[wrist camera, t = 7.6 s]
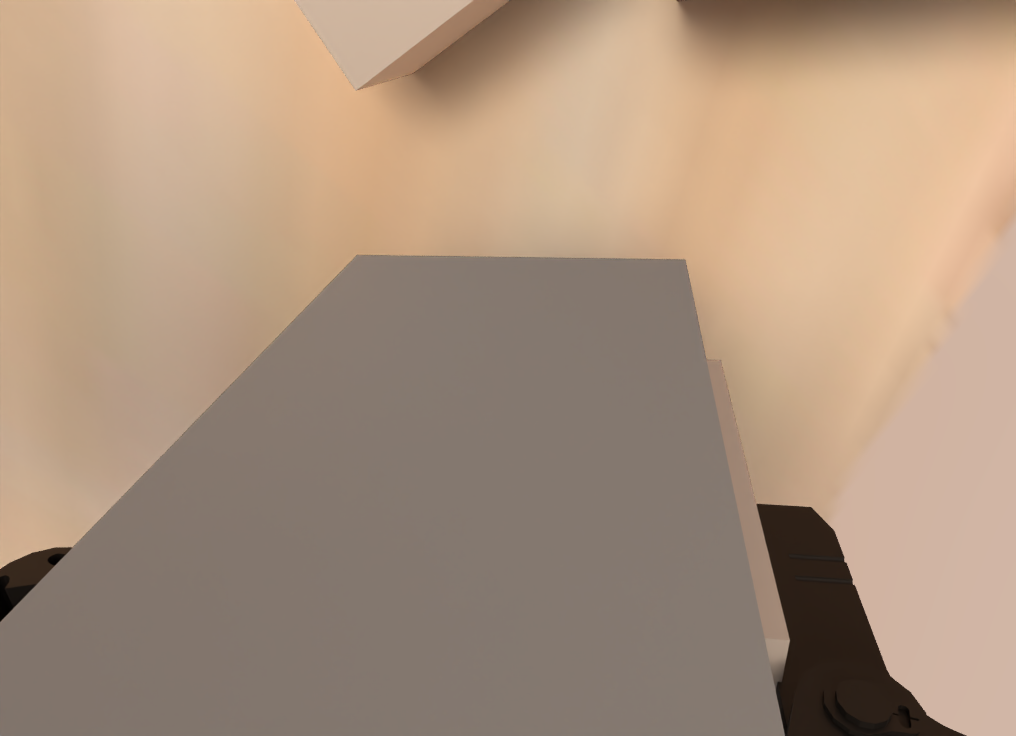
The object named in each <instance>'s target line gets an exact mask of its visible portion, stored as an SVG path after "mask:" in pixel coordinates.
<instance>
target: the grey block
mask: <svg viewBox="0 0 1016 736" xmlns="http://www.w3.org/2000/svg"><path fill="white" fill-rule="evenodd" d="M294 1H295V2H296V4H297V5H298V7H299V8H300V10H301V11H302V13H303V14H304V15H305V17H306V18H307V20H308V21H309V23H310V24H311V26H312V27H313V29H314V30H315V32H316V33H317V35H318V36H319V38H320V39H321V40H322V42H323V43H324V45H325V46H326V48H327V49H328V51H329V52H330V54H331V55H332V57H333V58H334V60H335V61H336V63H337V64H338V66H339V67H340V68H341V70H342V71H343V73H344V74H345V76H346V77H347V79H348V80H349V82H350V83H351V85H352V86H353V88H354V89H355V91H357V90H360V89H363V88H367V87H370V86H373V85H377V84H380V83H383V82H386V81H390V80H393V79H396V78H400V77H403V76H406V75H409V74H413V73H414V72H416V71H417V70H418V69H420V68H421V67H422V66H424V65H425V64H426V63H428V62H429V61H430V60H432V59H433V58H434V57H436V56H437V55H438V54H440V53H441V52H442V51H444V50H445V49H446V48H448V47H449V46H450V45H451V44H453V43H454V42H455V41H457V40H458V39H459V38H461V37H462V36H463V35H465V34H466V33H467V32H469V31H470V30H471V29H473V28H474V27H475V26H477V25H478V24H479V23H481V22H482V21H483V20H485V19H486V18H487V17H489V16H490V15H491V14H493V13H494V12H495V11H497V10H498V9H499V8H501V7H502V6H503V5H505V4H506V3H507V2H509V1H510V0H294Z"/></svg>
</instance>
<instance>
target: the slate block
mask: <svg viewBox="0 0 1016 736" xmlns="http://www.w3.org/2000/svg"><path fill="white" fill-rule="evenodd" d="M0 736H785V733H784V729H783V724H782V719H781V714H780V709H779V705H778V700H777V695H776V690H775V685H774V681H773V676H772V671H771V666H770V662H769V657H768V652H767V647H766V642H765V638H764V633H763V628H762V623H761V619H760V614H759V609H758V604H757V599H756V595H755V590H754V585H753V580H752V576H751V571H750V566H749V561H748V556H747V552H746V547H745V542H744V537H743V532H742V528H741V523H740V518H739V513H738V509H737V504H736V499H735V494H734V489H733V485H732V480H731V475H730V470H729V466H728V461H727V456H726V451H725V446H724V442H723V437H722V432H721V427H720V423H719V418H718V413H717V408H716V403H715V399H714V394H713V389H712V384H711V379H710V375H709V370H708V365H707V360H706V356H705V351H704V346H703V341H702V336H701V332H700V327H699V322H698V317H697V313H696V308H695V303H694V298H693V293H692V289H691V284H690V279H689V274H688V270H687V265H686V260H678V259H606V258H534V257H463V256H391V255H357V256H356V257H355V258H354V259H353V260H352V261H351V262H350V263H349V264H348V265H347V266H346V267H345V268H344V269H343V270H342V271H341V272H340V273H339V274H338V275H337V276H336V277H335V278H334V279H333V280H332V281H331V282H330V283H329V285H328V286H327V287H326V288H325V289H324V290H323V291H322V292H321V293H320V294H319V295H318V296H317V297H316V298H315V299H314V300H313V301H312V302H311V303H310V304H309V305H308V306H307V307H306V308H305V309H304V310H303V311H302V312H301V313H300V314H299V315H298V316H297V317H296V318H295V319H294V321H293V322H292V323H291V324H290V325H289V326H288V327H287V328H286V329H285V330H284V331H283V332H282V333H281V334H280V335H279V336H278V337H277V338H276V339H275V340H274V341H273V342H272V343H271V344H270V345H269V346H268V347H267V348H266V349H265V350H264V351H263V352H262V353H261V354H260V355H259V357H258V358H257V359H256V360H255V361H254V362H253V363H252V364H251V365H250V366H249V367H248V368H247V369H246V370H245V371H244V372H243V373H242V374H241V375H240V376H239V377H238V378H237V379H236V380H235V381H234V382H233V383H232V384H231V385H230V386H229V387H228V388H227V389H226V390H225V391H224V392H223V394H222V395H221V396H220V397H219V398H218V399H217V400H216V401H215V402H214V403H213V404H212V405H211V406H210V407H209V408H208V409H207V410H206V411H205V412H204V413H203V414H202V415H201V416H200V417H199V418H198V419H197V420H196V421H195V422H194V423H193V424H192V425H191V426H190V427H189V428H188V430H187V431H186V432H185V433H184V434H183V435H182V436H181V437H180V438H179V439H178V440H177V441H176V442H175V443H174V444H173V445H172V446H171V447H170V448H169V449H168V450H167V451H166V452H165V453H164V454H163V455H162V456H161V457H160V458H159V459H158V460H157V461H156V462H155V463H154V464H153V466H152V467H151V468H150V469H149V470H148V471H147V472H146V473H145V474H144V475H143V476H142V477H141V478H140V479H139V480H138V481H137V482H136V483H135V484H134V485H133V486H132V487H131V488H130V489H129V490H128V491H127V492H126V493H125V494H124V495H123V496H122V497H121V498H120V499H119V500H118V502H117V503H116V504H115V505H114V506H113V507H112V508H111V509H110V510H109V511H108V512H107V513H106V514H105V515H104V516H103V517H102V518H101V519H100V520H99V521H98V522H97V523H96V524H95V525H94V526H93V527H92V528H91V529H90V530H89V531H88V532H87V533H86V534H85V535H84V536H83V538H82V539H81V540H80V541H79V542H78V543H77V544H76V545H75V546H74V547H73V548H72V549H71V550H70V551H69V552H68V553H67V554H66V555H65V556H64V557H63V558H62V559H61V560H60V561H59V562H58V563H57V564H56V565H55V566H54V567H53V568H52V569H51V570H50V571H49V572H48V574H47V575H46V576H45V577H44V578H43V579H42V580H41V581H40V582H39V583H38V584H37V585H36V586H35V587H34V588H33V589H32V590H31V591H30V592H29V593H28V594H27V595H26V596H25V597H24V598H23V599H22V600H21V601H20V602H19V603H18V604H17V605H16V606H15V607H14V608H13V610H12V611H11V612H10V613H9V614H8V615H7V616H6V617H5V618H4V619H3V620H2V621H1V622H0Z"/></svg>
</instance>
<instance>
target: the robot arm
mask: <svg viewBox="0 0 1016 736" xmlns="http://www.w3.org/2000/svg"><path fill="white" fill-rule="evenodd" d="M707 365H708V370H709V375H710V379H711V384H712V389H713V394H714V399H715V403H716V408H717V413H718V418H719V423H720V427H721V432H722V437H723V442H724V446H725V451H726V456H727V461H728V466H729V470H730V475H731V480H732V485H733V489H734V494H735V499H736V504H737V509H738V513H739V518H740V523H741V528H742V532H743V537H744V542H745V547H746V552H747V556H748V561H749V566H750V571H751V576H752V580H753V585H754V590H755V595H756V599H757V604H758V609H759V614H760V619H761V623H762V628H763V633H764V638H765V642H766V647H767V652H768V657H769V662H770V666H771V671H772V676H773V681H774V685H775V690H776V695H777V700H778V705H779V709H780V714H781V719H782V724H783V729H784V733H785V736H966V735H963V734H961V733H959V732H956V731H954V730H952V729H950V728H947V727H945V726H943V725H942V724H940V723H938V722H937V721H935V720H933V719H932V718H930V717H929V716H927V715H926V712H925V711H924V710H923V708H922V707H921V706H920V704H919V703H918V702H917V700H916V699H915V697H914V696H913V695H912V694H911V692H910V691H908V690H907V689H905V688H904V687H903V686H902V685H901V684H899V683H898V682H897V681H895V680H894V679H893V678H892V677H890V675H889V673H888V671H887V670H886V666H885V664H884V661H883V659H882V656H881V653H880V651H879V648H878V645H877V643H876V640H875V637H874V635H873V632H872V629H871V627H870V624H869V622H868V619H867V616H866V614H865V611H864V608H863V606H862V603H861V600H860V598H859V595H858V592H857V590H856V587H855V585H853V583H852V580H853V579H852V576H851V574H850V571H849V568H848V566H847V563H845V562H844V555H843V553H842V550H841V547H840V545H839V542H838V539H837V537H836V534H835V531H834V530H833V529H832V528H831V527H830V526H829V525H828V524H827V523H826V522H825V521H824V520H823V519H822V518H821V517H820V516H819V515H818V514H817V513H816V512H815V511H814V510H813V509H812V508H811V507H799V506H783V505H766V504H756V501H755V497H754V493H753V489H752V485H751V481H750V477H749V473H748V469H747V465H746V461H745V456H744V452H743V448H742V444H741V440H740V436H739V432H738V428H737V424H736V420H735V416H734V412H733V408H732V404H731V400H730V396H729V392H728V388H727V384H726V380H725V376H724V371H723V367H722V363H721V360H707ZM72 548H73V547H68V548H51V549H47V550H43V551H39V552H34V553H31V554H29V555H27V556H24V557H22V558H20V559H17V560H15V561H13V562H11V563H9V564H7V565H6V566H4V567H3V568H1V569H0V622H1V621H2V620H3V619H4V618H5V617H6V616H7V615H8V614H9V613H10V612H11V611H12V610H13V608H14V607H15V606H16V605H17V604H18V603H19V602H20V601H21V600H22V599H23V598H24V597H25V596H26V595H27V594H28V593H29V592H30V591H31V590H32V589H33V588H34V587H35V586H36V585H37V584H38V583H39V582H40V581H41V580H42V579H43V578H44V577H45V576H46V575H47V574H48V572H49V571H50V570H51V569H52V568H53V567H54V566H55V565H56V564H57V563H58V562H59V561H60V560H61V559H62V558H63V557H64V556H65V555H66V554H67V553H68V552H69V551H70V550H71V549H72Z"/></svg>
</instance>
